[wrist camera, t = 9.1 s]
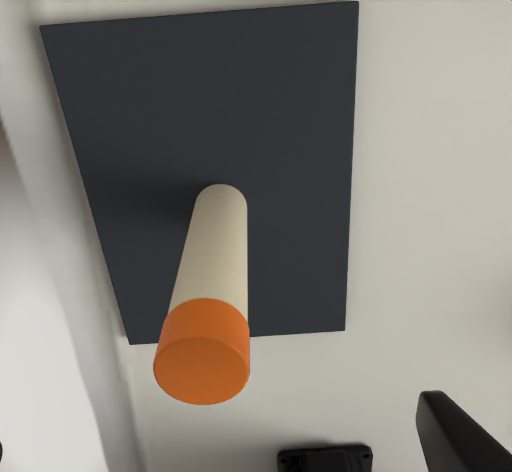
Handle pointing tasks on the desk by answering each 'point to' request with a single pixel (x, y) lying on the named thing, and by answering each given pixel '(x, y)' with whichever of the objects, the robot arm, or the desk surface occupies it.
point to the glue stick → (209, 305)
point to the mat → (217, 150)
